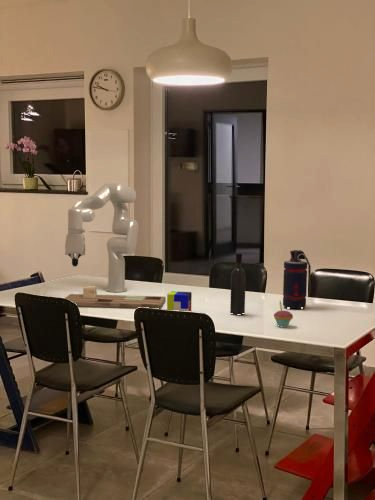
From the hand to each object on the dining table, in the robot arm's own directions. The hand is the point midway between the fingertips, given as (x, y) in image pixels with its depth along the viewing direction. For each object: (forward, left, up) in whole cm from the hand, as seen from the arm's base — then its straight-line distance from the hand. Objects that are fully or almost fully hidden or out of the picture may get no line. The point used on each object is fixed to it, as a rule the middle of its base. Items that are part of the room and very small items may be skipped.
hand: (75, 266), depth 357 cm
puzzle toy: (+26, +58, -19) cm, 66 cm away
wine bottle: (+24, +87, -19) cm, 92 cm away
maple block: (0, +8, -16) cm, 18 cm away
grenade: (+3, +117, -19) cm, 119 cm away
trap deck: (+6, +22, -19) cm, 29 cm away
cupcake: (+49, +107, -19) cm, 119 cm away
